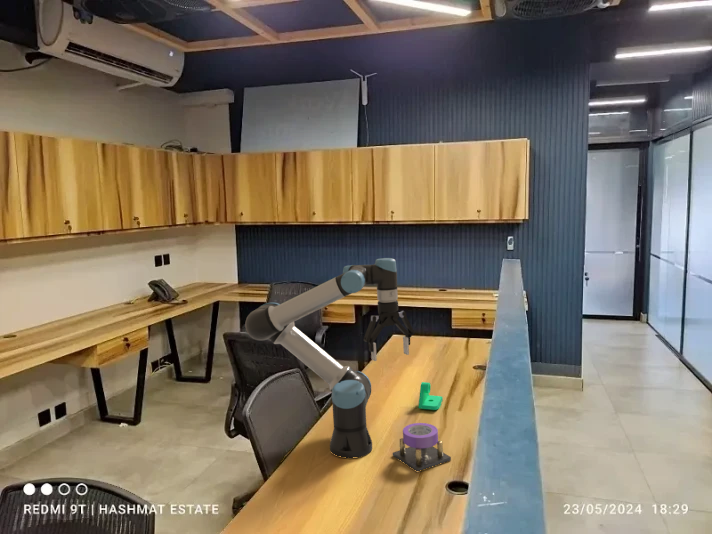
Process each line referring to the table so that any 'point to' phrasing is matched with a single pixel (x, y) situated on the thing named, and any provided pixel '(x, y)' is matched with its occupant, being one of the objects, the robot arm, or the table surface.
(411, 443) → the masking tape
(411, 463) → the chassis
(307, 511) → the table surface
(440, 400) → the camera mount
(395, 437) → the table surface
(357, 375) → the robot arm
